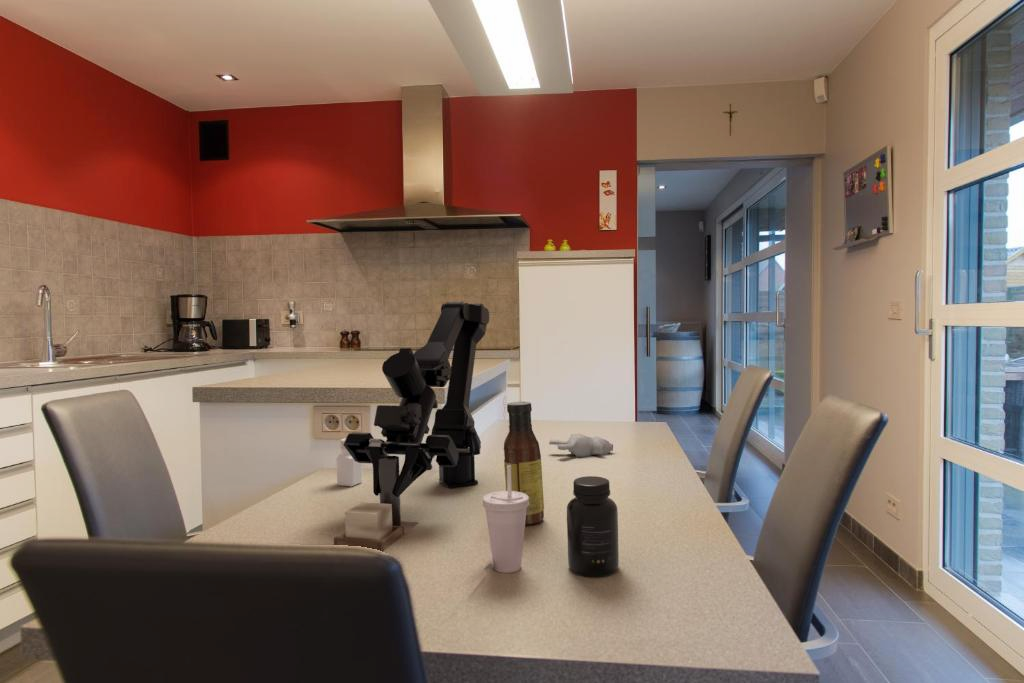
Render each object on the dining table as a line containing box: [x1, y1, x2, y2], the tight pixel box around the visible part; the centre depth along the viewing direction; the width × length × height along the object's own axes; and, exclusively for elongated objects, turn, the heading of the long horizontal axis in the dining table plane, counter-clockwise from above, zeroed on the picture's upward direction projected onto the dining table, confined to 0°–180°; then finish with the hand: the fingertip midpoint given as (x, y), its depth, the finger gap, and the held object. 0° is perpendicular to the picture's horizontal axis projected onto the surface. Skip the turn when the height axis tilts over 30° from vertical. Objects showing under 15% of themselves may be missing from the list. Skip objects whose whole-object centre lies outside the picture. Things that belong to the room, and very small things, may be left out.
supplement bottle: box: [566, 475, 620, 578], centre depth 83 cm, size 7×7×12 cm
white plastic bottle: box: [336, 437, 363, 487], centre depth 129 cm, size 4×4×10 cm
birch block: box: [344, 501, 393, 540], centre depth 92 cm, size 5×5×5 cm
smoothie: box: [481, 465, 529, 574], centre depth 84 cm, size 6×6×14 cm
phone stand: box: [333, 455, 420, 552], centre depth 95 cm, size 13×8×12 cm, turn 164°
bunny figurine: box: [548, 433, 614, 458], centre depth 151 cm, size 10×5×15 cm
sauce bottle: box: [503, 401, 545, 526], centre depth 103 cm, size 7×6×20 cm
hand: (385, 494), depth 97 cm, fingers closed on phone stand, 3 cm apart
